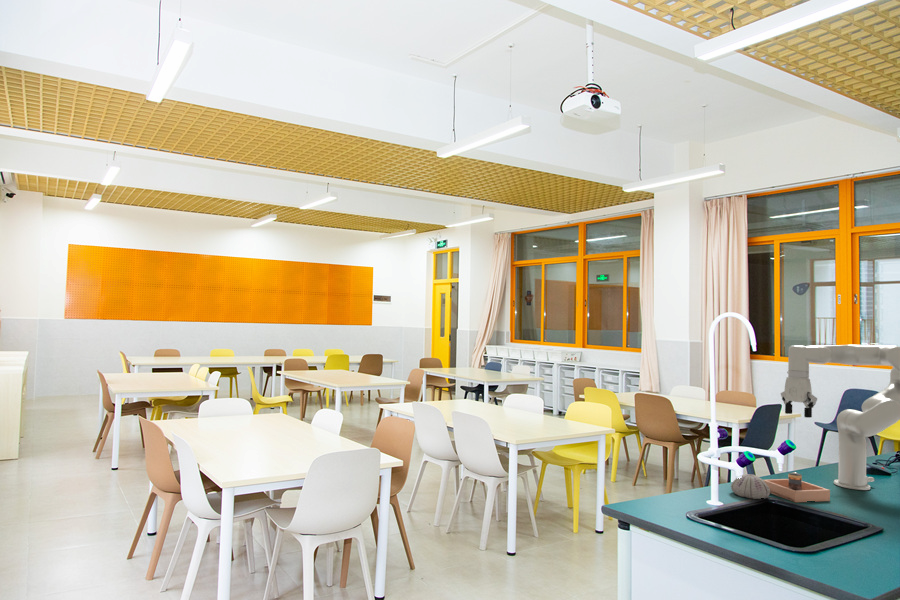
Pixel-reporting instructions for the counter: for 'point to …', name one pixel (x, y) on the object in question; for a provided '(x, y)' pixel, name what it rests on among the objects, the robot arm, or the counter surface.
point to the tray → (804, 495)
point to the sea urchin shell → (750, 487)
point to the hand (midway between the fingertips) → (798, 415)
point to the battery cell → (795, 481)
